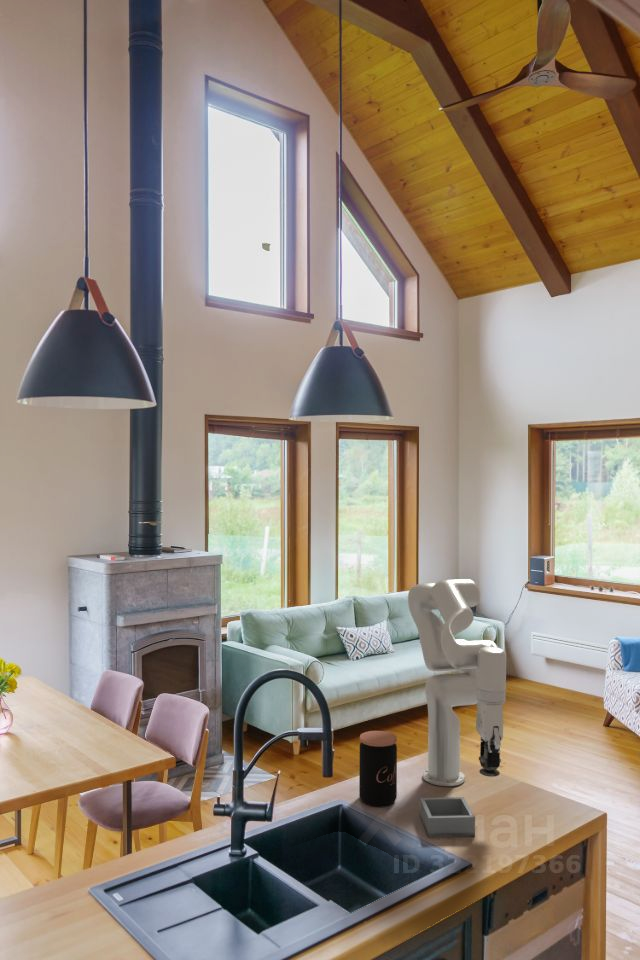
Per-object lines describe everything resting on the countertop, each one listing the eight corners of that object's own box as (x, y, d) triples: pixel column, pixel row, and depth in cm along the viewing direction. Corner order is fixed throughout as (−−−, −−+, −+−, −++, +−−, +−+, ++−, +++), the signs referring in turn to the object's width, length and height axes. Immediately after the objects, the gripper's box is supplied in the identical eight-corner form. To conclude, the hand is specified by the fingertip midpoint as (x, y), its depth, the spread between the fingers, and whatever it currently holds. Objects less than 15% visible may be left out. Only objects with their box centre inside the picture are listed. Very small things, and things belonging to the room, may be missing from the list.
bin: (419, 816, 208) (420, 798, 208) (463, 815, 208) (463, 797, 208) (428, 837, 196) (428, 818, 196) (475, 836, 196) (475, 817, 196)
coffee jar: (378, 811, 211) (378, 746, 210) (351, 799, 219) (351, 736, 218) (404, 800, 218) (404, 737, 217) (377, 788, 226) (377, 728, 225)
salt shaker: (501, 778, 201) (502, 733, 200) (478, 775, 202) (479, 731, 202) (500, 769, 207) (501, 725, 206) (478, 766, 208) (479, 723, 207)
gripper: (469, 684, 212) (467, 749, 213) (485, 705, 195) (484, 775, 195) (495, 684, 212) (494, 748, 213) (514, 705, 195) (513, 775, 196)
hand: (489, 760), depth 204 cm, fingers closed on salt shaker, 5 cm apart
